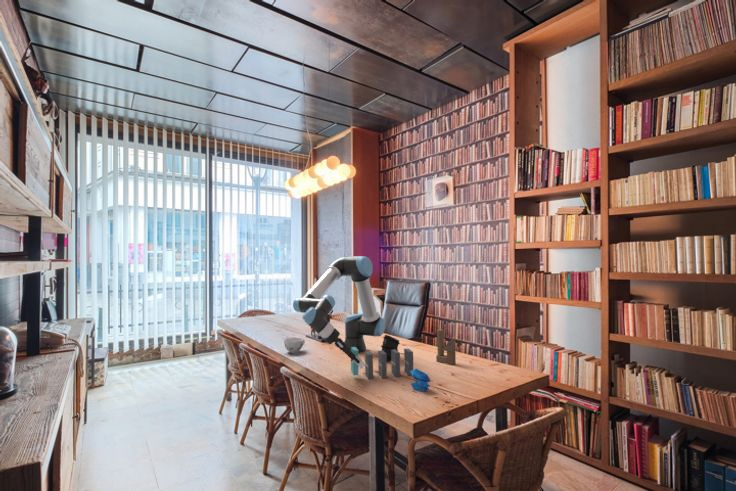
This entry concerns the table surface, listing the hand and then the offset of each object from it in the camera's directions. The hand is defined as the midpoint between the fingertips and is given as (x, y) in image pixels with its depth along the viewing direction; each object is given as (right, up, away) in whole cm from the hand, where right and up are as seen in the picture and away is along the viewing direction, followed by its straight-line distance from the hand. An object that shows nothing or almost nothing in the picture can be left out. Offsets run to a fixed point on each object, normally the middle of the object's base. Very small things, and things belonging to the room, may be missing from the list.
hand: (361, 364), depth 182 cm
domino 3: (+17, -7, +4) cm, 19 cm away
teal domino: (-3, -4, -1) cm, 5 cm away
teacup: (-43, -9, +53) cm, 69 cm away
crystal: (+27, -6, -17) cm, 32 cm away
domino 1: (+4, -7, +1) cm, 8 cm away
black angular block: (+16, -8, +30) cm, 35 cm away
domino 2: (+10, -7, +3) cm, 13 cm away
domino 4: (+24, -7, +6) cm, 26 cm away
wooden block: (+47, -7, +25) cm, 54 cm away
